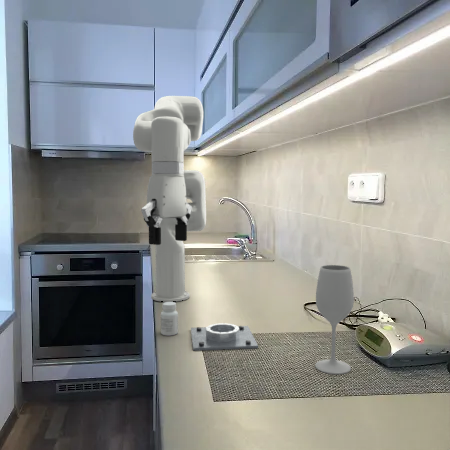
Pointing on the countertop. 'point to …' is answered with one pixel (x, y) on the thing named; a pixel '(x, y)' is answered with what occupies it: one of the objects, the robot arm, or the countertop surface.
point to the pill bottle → (169, 319)
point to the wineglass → (334, 308)
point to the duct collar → (222, 332)
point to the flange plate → (203, 343)
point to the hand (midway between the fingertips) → (168, 242)
